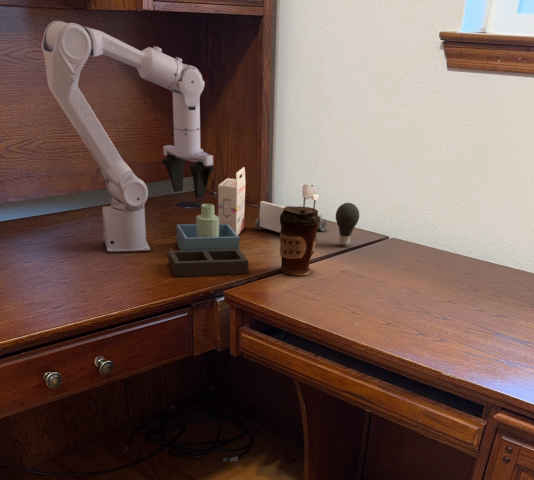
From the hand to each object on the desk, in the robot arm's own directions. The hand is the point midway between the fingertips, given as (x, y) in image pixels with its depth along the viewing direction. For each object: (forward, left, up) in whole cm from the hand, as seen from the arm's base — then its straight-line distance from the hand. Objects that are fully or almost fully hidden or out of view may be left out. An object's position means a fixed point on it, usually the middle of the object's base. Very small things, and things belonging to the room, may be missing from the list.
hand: (188, 194), depth 153 cm
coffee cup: (+19, -25, -11) cm, 33 cm away
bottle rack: (0, -21, -10) cm, 23 cm away
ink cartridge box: (+12, +6, -11) cm, 17 cm away
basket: (+3, -8, -10) cm, 14 cm away
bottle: (+3, -8, -10) cm, 13 cm away
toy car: (+29, +7, -11) cm, 31 cm away
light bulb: (+37, -8, -11) cm, 39 cm away
